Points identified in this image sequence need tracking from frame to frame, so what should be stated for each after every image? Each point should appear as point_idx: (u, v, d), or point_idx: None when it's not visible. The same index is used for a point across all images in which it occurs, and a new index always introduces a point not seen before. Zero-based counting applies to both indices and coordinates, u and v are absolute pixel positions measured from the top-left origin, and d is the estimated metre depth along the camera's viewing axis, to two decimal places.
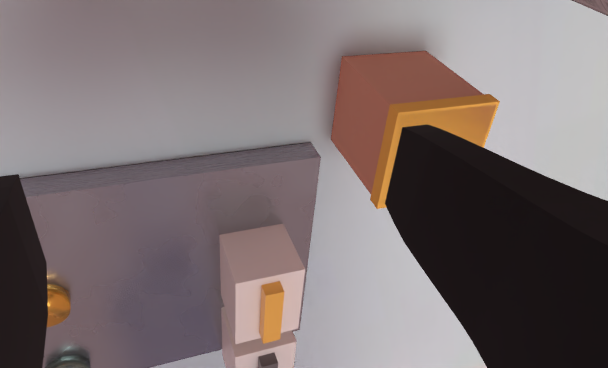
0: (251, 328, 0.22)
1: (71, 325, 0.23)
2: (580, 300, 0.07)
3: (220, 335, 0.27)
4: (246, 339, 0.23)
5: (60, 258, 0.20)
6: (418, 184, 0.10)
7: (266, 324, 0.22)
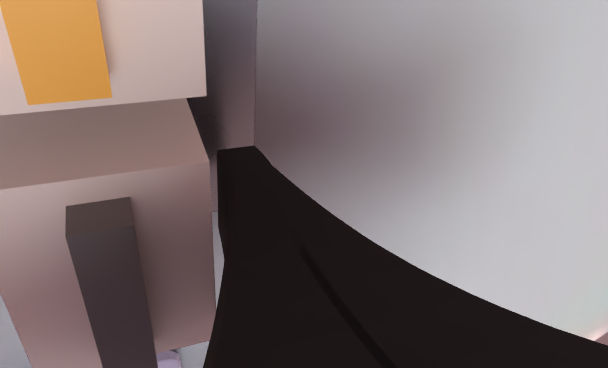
0: None
1: None
2: None
3: None
4: None
5: None
6: None
7: None
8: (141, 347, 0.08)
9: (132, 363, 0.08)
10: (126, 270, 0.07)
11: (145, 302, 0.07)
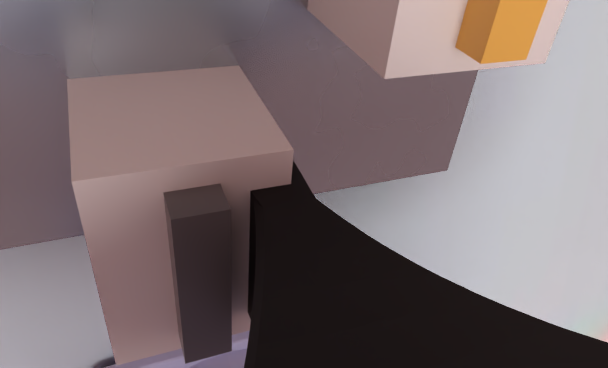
0: (441, 16, 0.07)
1: None
2: None
3: None
4: (416, 66, 0.07)
5: None
6: None
7: None
8: (220, 328, 0.08)
9: (210, 344, 0.08)
10: (218, 253, 0.07)
11: (229, 284, 0.08)
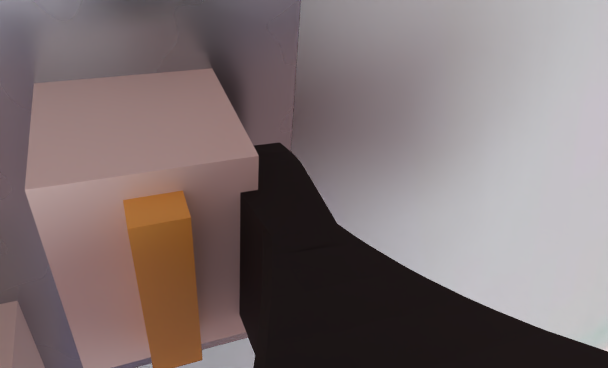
0: (122, 332, 0.08)
1: None
2: None
3: None
4: (115, 361, 0.09)
5: None
6: None
7: (152, 321, 0.07)
8: None
9: None
10: None
11: None
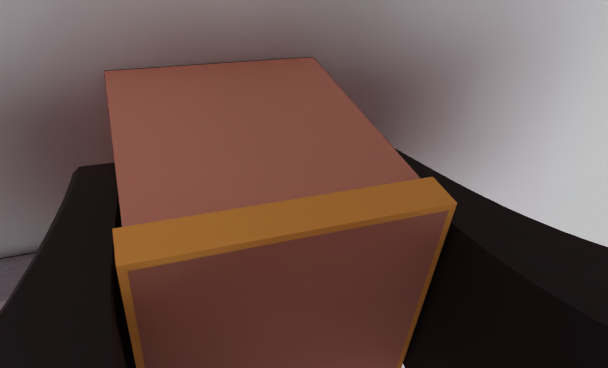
0: None
1: None
2: (491, 325, 0.06)
3: None
4: None
5: None
6: None
7: None
8: None
9: None
10: None
11: None
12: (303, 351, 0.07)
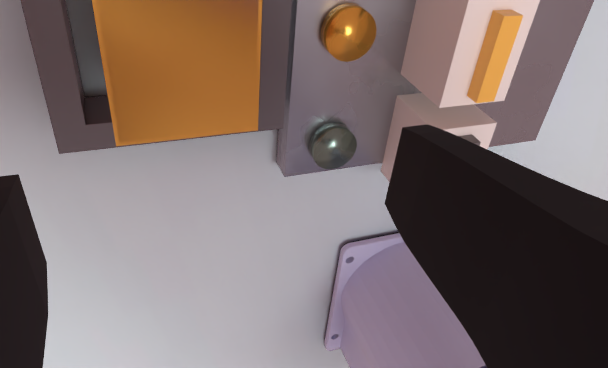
0: (461, 85, 0.18)
1: (355, 75, 0.20)
2: (579, 299, 0.07)
3: None
4: (451, 103, 0.19)
5: None
6: (418, 184, 0.10)
7: (489, 69, 0.18)
8: None
9: None
10: None
11: None
12: (192, 82, 0.14)
